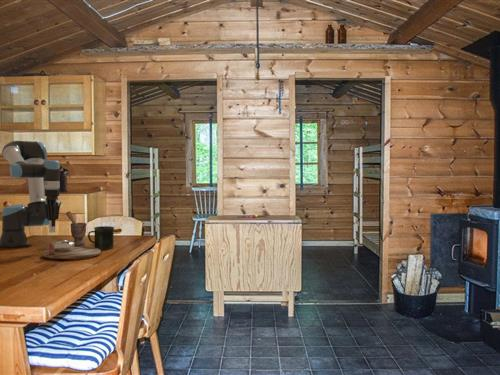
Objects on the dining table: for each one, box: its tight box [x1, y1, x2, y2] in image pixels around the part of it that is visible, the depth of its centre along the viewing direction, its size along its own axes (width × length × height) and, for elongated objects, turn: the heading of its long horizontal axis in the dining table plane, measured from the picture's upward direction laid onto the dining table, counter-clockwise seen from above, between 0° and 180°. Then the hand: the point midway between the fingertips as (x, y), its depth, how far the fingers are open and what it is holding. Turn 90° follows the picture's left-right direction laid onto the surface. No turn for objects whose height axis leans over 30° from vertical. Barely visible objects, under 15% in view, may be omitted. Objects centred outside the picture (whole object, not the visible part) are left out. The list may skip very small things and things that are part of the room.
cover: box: [53, 239, 75, 252], centre depth 237 cm, size 10×10×5 cm
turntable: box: [42, 242, 102, 260], centre depth 233 cm, size 28×28×7 cm
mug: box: [87, 225, 115, 250], centre depth 256 cm, size 11×15×12 cm
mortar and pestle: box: [65, 211, 87, 247], centre depth 264 cm, size 12×9×20 cm
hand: (52, 232), depth 243 cm, fingers closed
